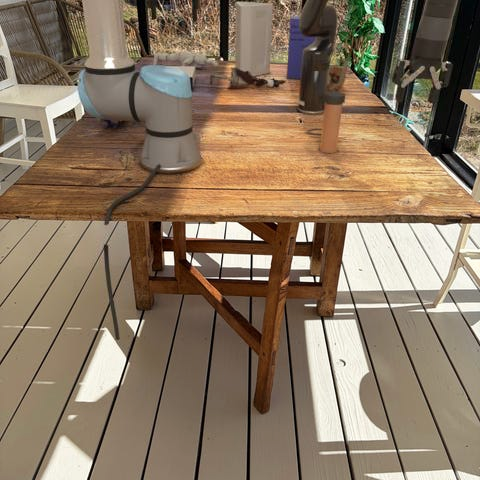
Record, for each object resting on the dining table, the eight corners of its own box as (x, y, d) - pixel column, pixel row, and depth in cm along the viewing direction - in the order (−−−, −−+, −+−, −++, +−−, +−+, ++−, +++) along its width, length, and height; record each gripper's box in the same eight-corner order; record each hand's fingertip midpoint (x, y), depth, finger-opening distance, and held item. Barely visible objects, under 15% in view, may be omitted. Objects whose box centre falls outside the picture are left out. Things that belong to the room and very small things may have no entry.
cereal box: (326, 77, 211) (332, 17, 198) (327, 79, 206) (333, 19, 194) (286, 76, 211) (290, 16, 199) (287, 78, 207) (290, 18, 195)
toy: (173, 75, 210) (172, 58, 207) (149, 64, 228) (148, 49, 224) (220, 69, 222) (220, 53, 218) (194, 59, 239) (193, 45, 236)
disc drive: (147, 90, 186) (146, 77, 184) (155, 77, 206) (154, 65, 203) (192, 90, 187) (192, 77, 184) (196, 77, 206) (195, 65, 204)
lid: (345, 104, 123) (346, 96, 122) (324, 104, 124) (325, 96, 123) (343, 99, 128) (344, 91, 127) (322, 98, 128) (323, 90, 127)
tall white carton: (273, 76, 210) (276, 6, 196) (239, 77, 209) (240, 6, 194) (266, 67, 226) (268, 2, 212) (235, 67, 225) (235, 1, 210)
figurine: (210, 87, 179) (288, 95, 182) (212, 65, 176) (291, 73, 180) (208, 84, 201) (278, 91, 205) (210, 64, 198) (280, 71, 202)
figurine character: (119, 135, 145) (134, 115, 156) (115, 111, 140) (131, 93, 152) (98, 134, 145) (114, 114, 157) (93, 110, 141) (110, 92, 152)
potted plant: (332, 93, 201) (333, 95, 187) (318, 79, 200) (318, 79, 186) (355, 70, 197) (357, 69, 183) (340, 55, 196) (341, 53, 182)
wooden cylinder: (337, 153, 131) (344, 98, 123) (320, 152, 131) (326, 97, 123) (335, 147, 135) (342, 93, 127) (319, 147, 135) (324, 92, 127)
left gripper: (214, -58, 143) (215, 20, 153) (135, -59, 146) (141, 17, 157) (207, -58, 136) (209, 23, 147) (125, -59, 140) (133, 20, 151)
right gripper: (452, 35, 121) (434, 99, 129) (398, 31, 119) (383, 96, 128) (467, 40, 114) (446, 107, 123) (410, 37, 113) (393, 105, 122)
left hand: (174, 20), depth 152 cm, fingers open, 13 cm apart
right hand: (414, 101), depth 125 cm, fingers open, 8 cm apart
